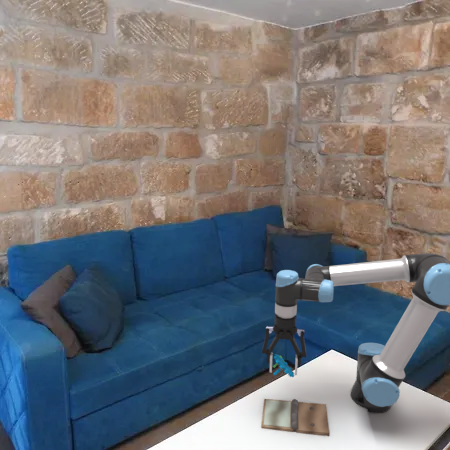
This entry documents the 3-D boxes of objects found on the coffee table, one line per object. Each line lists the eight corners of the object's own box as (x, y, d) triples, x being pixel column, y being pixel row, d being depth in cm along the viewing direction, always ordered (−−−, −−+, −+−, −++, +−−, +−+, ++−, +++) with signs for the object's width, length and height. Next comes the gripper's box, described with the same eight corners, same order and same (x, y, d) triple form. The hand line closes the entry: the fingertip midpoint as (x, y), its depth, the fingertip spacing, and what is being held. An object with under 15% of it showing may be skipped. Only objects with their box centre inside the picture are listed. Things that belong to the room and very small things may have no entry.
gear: (298, 379, 152) (278, 361, 150) (286, 390, 152) (266, 372, 151) (292, 364, 163) (273, 346, 161) (280, 374, 163) (262, 357, 162)
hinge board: (325, 406, 163) (326, 401, 162) (329, 436, 148) (329, 430, 147) (264, 401, 166) (264, 396, 165) (261, 429, 151) (261, 423, 150)
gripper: (316, 311, 154) (312, 369, 160) (256, 307, 158) (255, 363, 163) (316, 321, 147) (313, 380, 152) (254, 316, 151) (253, 374, 156)
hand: (283, 371), depth 158 cm, fingers closed on gear, 8 cm apart
